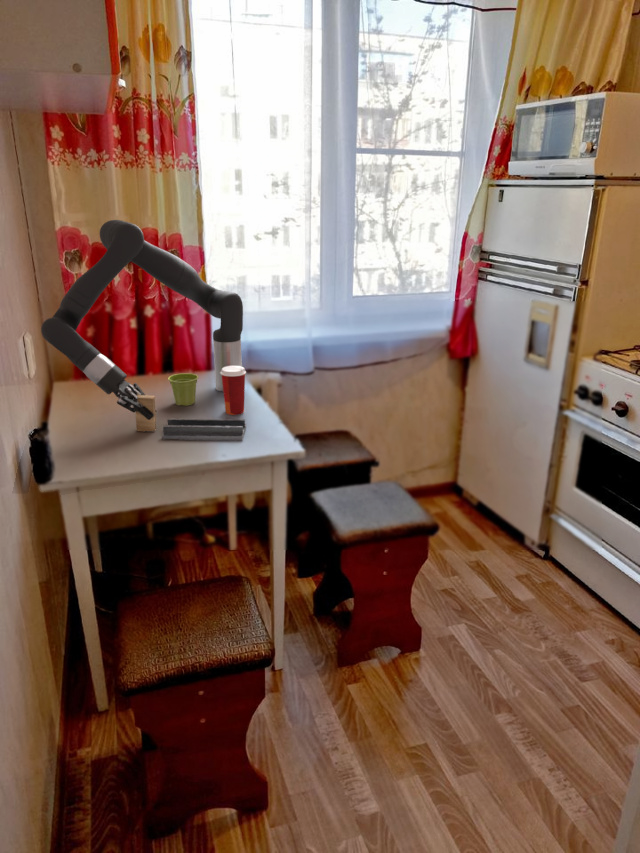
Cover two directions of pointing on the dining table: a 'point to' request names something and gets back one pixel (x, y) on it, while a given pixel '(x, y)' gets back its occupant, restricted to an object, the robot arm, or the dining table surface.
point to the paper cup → (233, 389)
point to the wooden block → (142, 421)
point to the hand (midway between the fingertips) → (153, 415)
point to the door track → (204, 429)
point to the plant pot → (184, 388)
